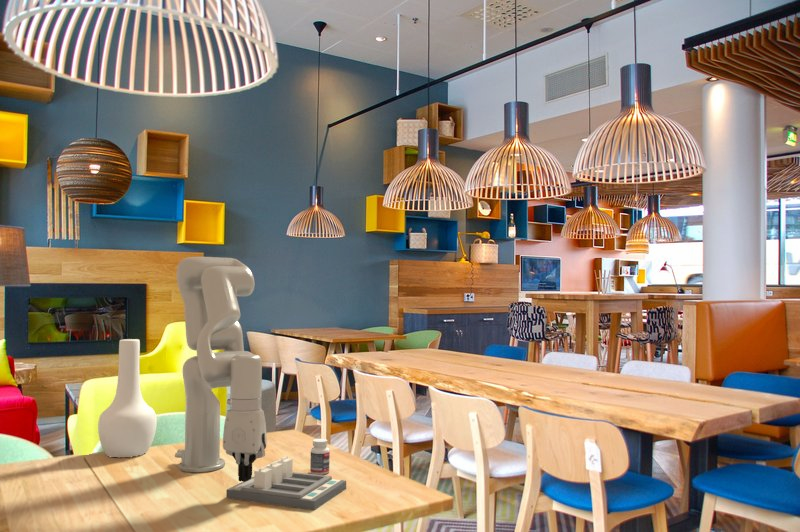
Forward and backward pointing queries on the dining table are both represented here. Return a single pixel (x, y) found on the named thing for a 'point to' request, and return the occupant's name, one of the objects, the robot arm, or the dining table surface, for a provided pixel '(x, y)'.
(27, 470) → the dining table surface
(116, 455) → the vase
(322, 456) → the pill bottle
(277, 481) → the tab
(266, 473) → the tab
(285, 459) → the tab
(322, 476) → the switch bank
